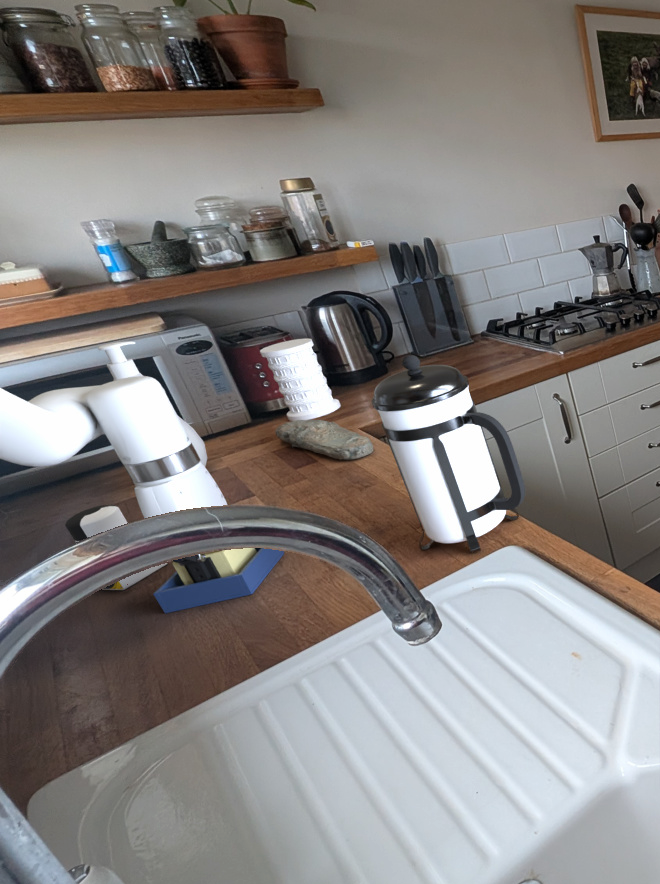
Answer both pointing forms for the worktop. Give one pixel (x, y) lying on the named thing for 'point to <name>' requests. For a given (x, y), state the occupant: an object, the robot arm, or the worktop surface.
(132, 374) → the soap bottle
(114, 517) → the medicine bottle
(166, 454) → the robot arm
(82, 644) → the worktop surface
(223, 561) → the cream bin
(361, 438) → the elongated rock
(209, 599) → the blue bin
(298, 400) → the decorative container
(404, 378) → the coffee press
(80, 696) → the worktop surface
